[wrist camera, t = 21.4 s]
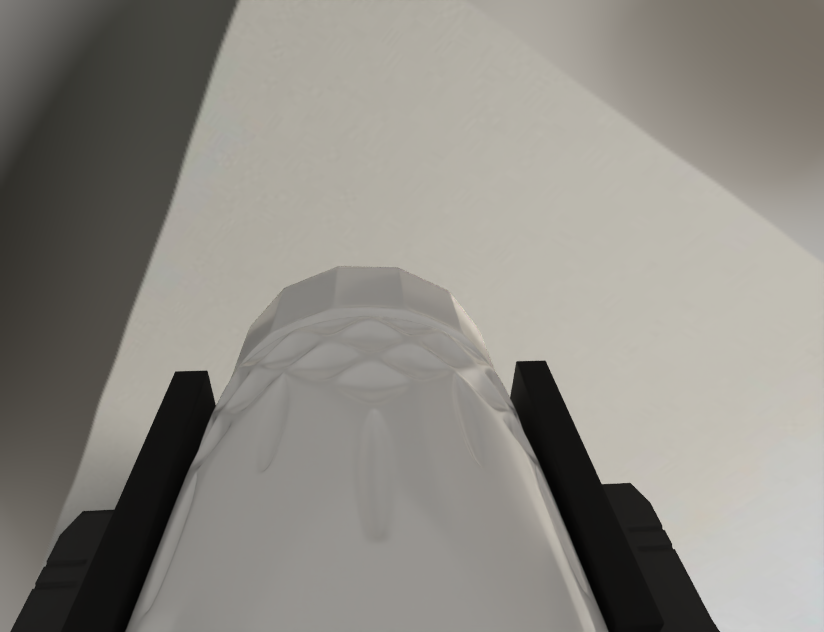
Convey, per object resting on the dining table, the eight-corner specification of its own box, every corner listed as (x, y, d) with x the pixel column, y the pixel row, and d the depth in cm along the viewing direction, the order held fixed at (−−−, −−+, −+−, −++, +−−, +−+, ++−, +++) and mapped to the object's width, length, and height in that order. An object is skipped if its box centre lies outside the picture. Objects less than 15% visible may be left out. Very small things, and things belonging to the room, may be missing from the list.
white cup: (342, 176, 12) (310, 628, 4) (557, 348, 16) (778, 789, 7) (168, 382, 15) (-58, 892, 7) (380, 491, 19) (398, 922, 10)
